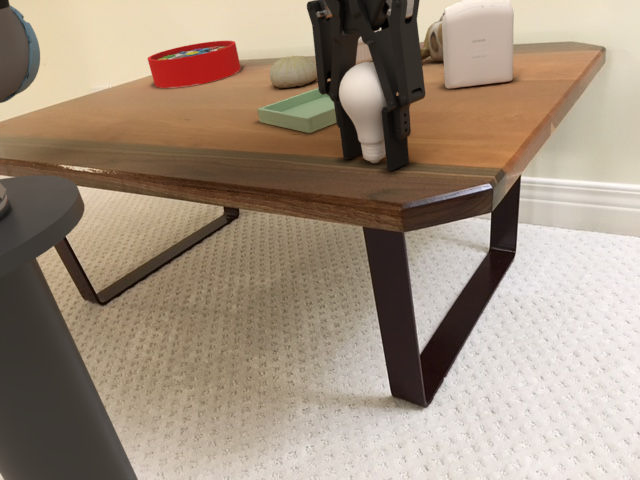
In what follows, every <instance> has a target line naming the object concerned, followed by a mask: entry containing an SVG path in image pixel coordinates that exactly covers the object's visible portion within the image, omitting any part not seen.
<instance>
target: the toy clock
mask: <svg viewBox="0 0 640 480" xmlns="http://www.w3.org/2000/svg"><path fill="white" fill-rule="evenodd" d="M147 63H148V65H149V69H150V73H151V76H152V79H153V83H154V87H156V88H161V89H178V88H187V87H192V86H198V85H203V84H207V83H212V82H215V81H220V80H222V79H226V78H229V77H231V76H234V75H236V74H237V73H239V72H241V70H242V67H241V62H240V58H239V52H238V49H237V44H236V42H235V41H234V40H214V41H206V42H199V43H194V44H188V45H184V46H178V47H173V48H170V49H165V50H163V51H160V52H156V53H153V54H151V55H150V56H148V57H147Z"/></svg>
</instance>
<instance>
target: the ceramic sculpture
mask: <svg viewBox="0 0 640 480" xmlns="http://www.w3.org/2000/svg"><path fill="white" fill-rule="evenodd" d="M443 16H444V12H443V13H442V15H441V16H440V18H439V20H438V21H435V22H433V23H432V24H430V25H429V27H428V28H427V30H426V33H425V37H424V40H423V41H421V42H420V41H419V42H420V51H421V60H422V61H425V60H426V59H428V58H429V57H430V58H431V59H433V60H435V61H437V62H444V59H443V38H442V21H443Z"/></svg>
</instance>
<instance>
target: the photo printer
mask: <svg viewBox="0 0 640 480" xmlns="http://www.w3.org/2000/svg"><path fill="white" fill-rule="evenodd" d="M443 10H444V11H443V13H444V16H443V21H442V38H443V59H444V61H443V77H444V78H443V79H444V87H445V88H446V89H449V90H452V89H458V88H466V87H473V86H474V87H475V86H481V85H489V84H490V85H491V84H499V83H508V82H511V81H512V80H513V79H514V22H515V21H514V18H515V17H514V9H513V7H512V0H461V1H458V2H455V3H454V4H451V5H450V6H448V7H446V8H444V9H443Z"/></svg>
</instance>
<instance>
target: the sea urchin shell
mask: <svg viewBox="0 0 640 480" xmlns="http://www.w3.org/2000/svg"><path fill="white" fill-rule="evenodd" d="M316 79H317V69H316V61H315V60H313V59H311V58H309V57H306V56H304V55H289V56H284V57H282V58H279V59H278V60H276V61H275V62H274V63H272V66H271V67H270V69H269V80H270V82H271V84H272V85H273V86H275V87H276V88H280V89H284V88H287V89H288V88H295V87H303V86H305V85H308V84H310V83H312V82H314V81H315V80H316Z"/></svg>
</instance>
